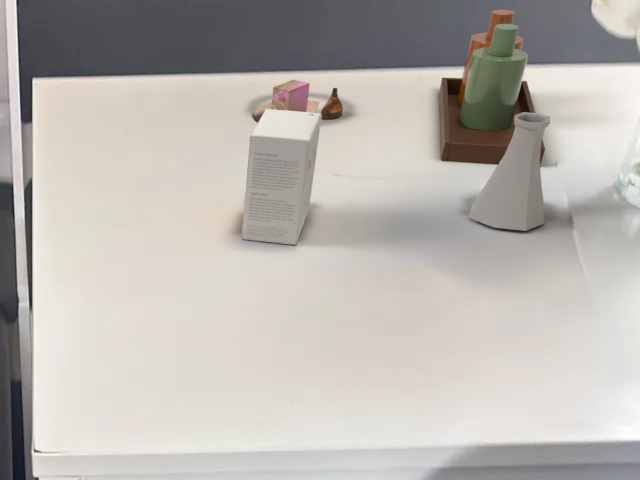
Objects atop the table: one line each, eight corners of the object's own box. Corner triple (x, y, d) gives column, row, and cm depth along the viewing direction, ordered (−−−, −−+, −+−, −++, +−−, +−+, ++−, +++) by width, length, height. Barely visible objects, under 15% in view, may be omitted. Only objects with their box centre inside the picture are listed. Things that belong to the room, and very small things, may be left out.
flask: (456, 221, 95) (479, 121, 89) (483, 198, 99) (507, 100, 93) (531, 239, 91) (560, 135, 85) (555, 213, 96) (585, 113, 90)
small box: (255, 208, 100) (264, 107, 94) (309, 214, 98) (323, 111, 92) (239, 240, 94) (248, 134, 88) (296, 246, 92) (310, 139, 86)
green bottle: (509, 115, 117) (533, 20, 111) (512, 132, 113) (537, 33, 106) (457, 113, 119) (477, 19, 112) (458, 129, 114) (480, 32, 108)
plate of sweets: (311, 138, 116) (316, 100, 113) (233, 117, 123) (236, 82, 120) (366, 113, 122) (372, 77, 119) (289, 95, 129) (293, 61, 127)
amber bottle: (505, 98, 123) (528, 6, 116) (508, 113, 118) (532, 18, 112) (456, 96, 124) (475, 5, 118) (457, 110, 120) (477, 17, 113)
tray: (521, 101, 123) (526, 80, 122) (538, 172, 104) (545, 148, 103) (438, 97, 126) (442, 77, 124) (440, 165, 107) (444, 142, 106)
